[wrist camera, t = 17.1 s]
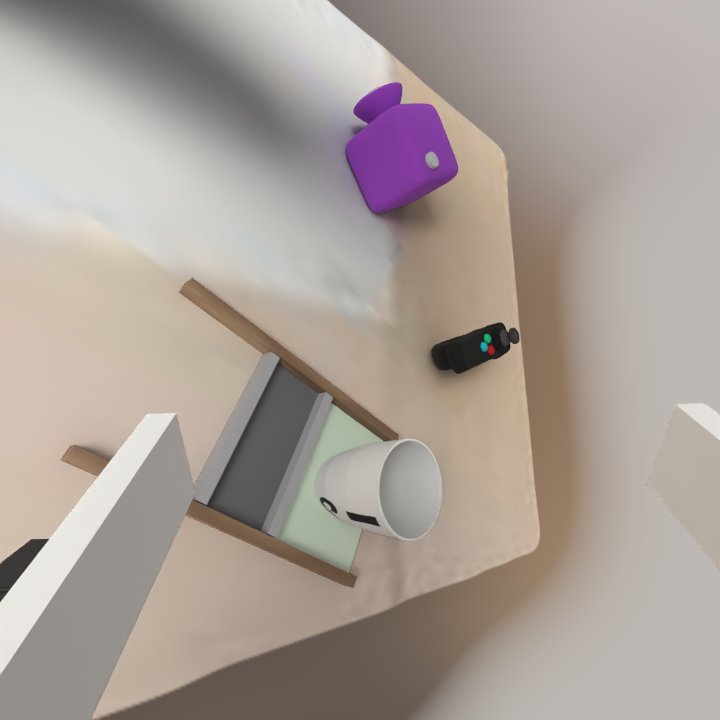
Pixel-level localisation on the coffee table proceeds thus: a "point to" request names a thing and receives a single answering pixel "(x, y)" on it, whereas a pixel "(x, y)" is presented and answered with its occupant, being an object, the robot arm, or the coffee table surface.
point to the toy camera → (398, 150)
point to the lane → (303, 373)
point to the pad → (305, 515)
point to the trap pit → (263, 448)
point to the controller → (474, 348)
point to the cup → (383, 488)
